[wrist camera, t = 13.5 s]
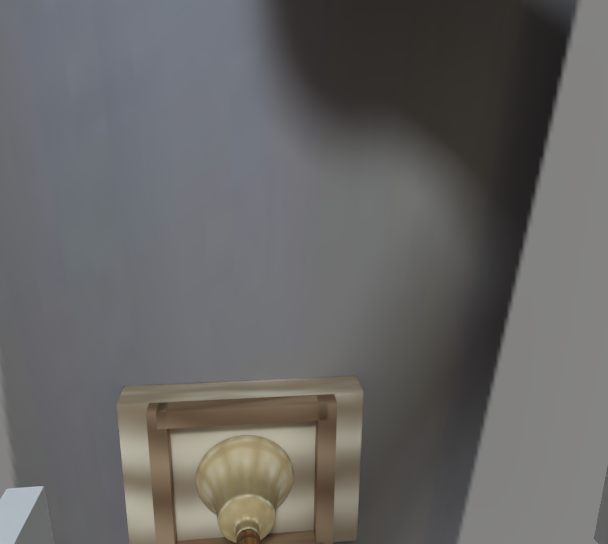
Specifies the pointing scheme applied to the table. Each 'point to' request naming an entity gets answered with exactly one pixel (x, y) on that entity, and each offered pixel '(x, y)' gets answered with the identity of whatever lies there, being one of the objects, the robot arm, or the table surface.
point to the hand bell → (244, 485)
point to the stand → (236, 422)
